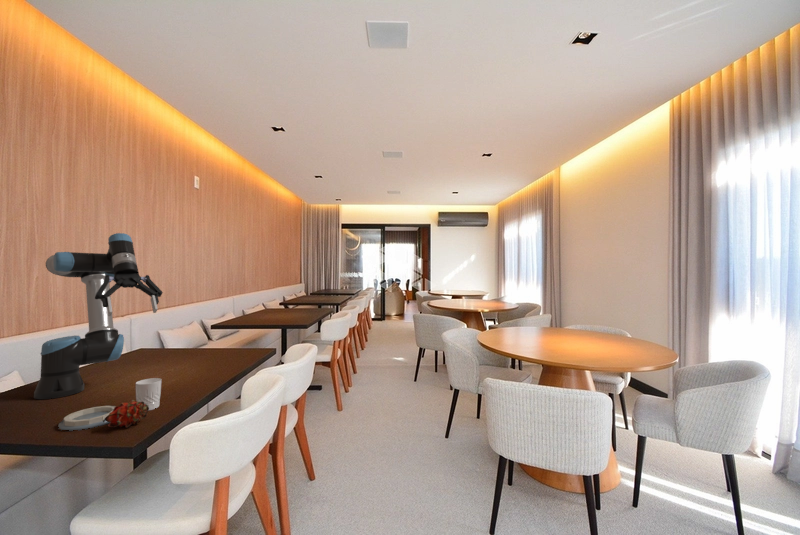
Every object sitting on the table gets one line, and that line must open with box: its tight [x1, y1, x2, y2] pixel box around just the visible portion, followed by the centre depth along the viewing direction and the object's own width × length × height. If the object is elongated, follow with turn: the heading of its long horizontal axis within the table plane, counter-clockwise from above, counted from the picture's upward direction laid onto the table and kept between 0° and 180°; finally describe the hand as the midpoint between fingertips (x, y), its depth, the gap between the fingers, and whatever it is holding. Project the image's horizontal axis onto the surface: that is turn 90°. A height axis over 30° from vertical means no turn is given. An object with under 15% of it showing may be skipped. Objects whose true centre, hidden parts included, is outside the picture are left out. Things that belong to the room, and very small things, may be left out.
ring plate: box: [58, 405, 117, 432], centre depth 117 cm, size 16×16×2 cm
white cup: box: [135, 377, 163, 412], centre depth 128 cm, size 8×8×10 cm
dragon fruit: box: [103, 399, 149, 428], centre depth 113 cm, size 8×8×12 cm
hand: (133, 312), depth 126 cm, fingers open, 13 cm apart
